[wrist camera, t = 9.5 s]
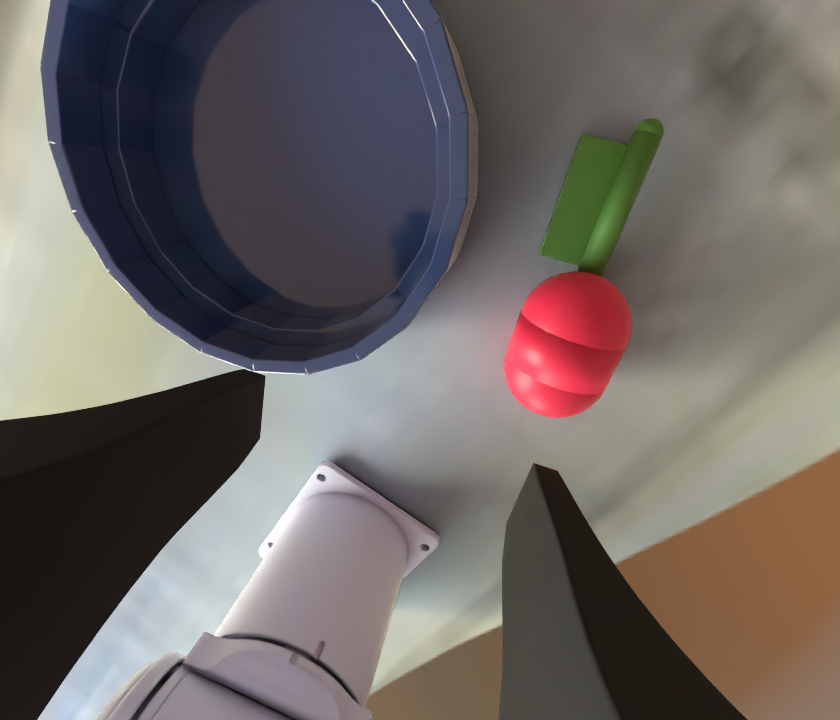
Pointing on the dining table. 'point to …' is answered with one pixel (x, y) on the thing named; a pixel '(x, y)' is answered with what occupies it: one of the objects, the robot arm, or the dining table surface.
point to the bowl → (265, 165)
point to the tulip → (581, 282)
